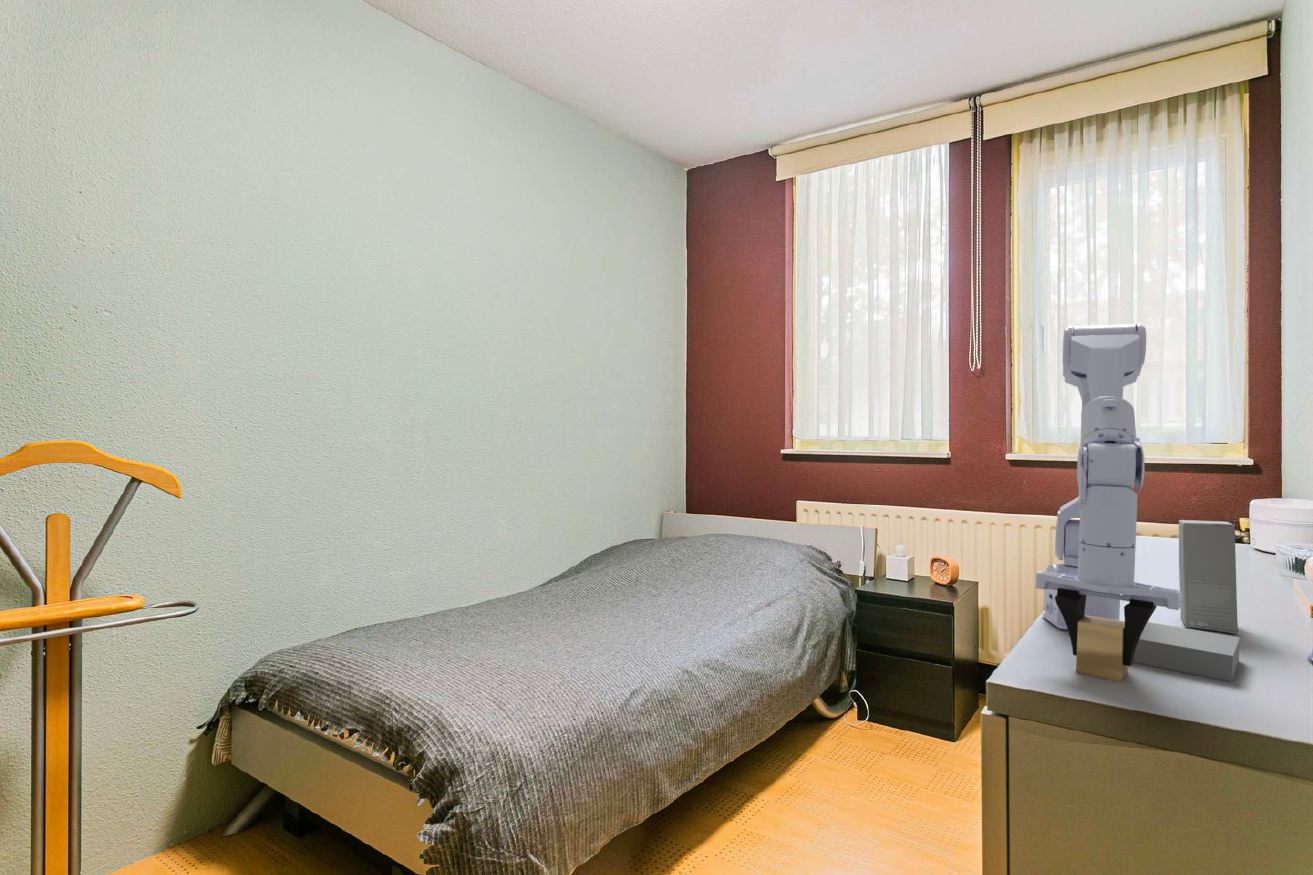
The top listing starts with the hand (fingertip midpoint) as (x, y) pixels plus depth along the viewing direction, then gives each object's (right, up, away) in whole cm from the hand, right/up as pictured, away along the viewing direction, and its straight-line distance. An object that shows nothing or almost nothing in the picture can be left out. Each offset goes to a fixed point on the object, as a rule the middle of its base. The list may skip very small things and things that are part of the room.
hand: (1102, 658), depth 87 cm
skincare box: (+30, -2, +24) cm, 38 cm away
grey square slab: (+13, -2, +6) cm, 14 cm away
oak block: (0, -2, 0) cm, 2 cm away
